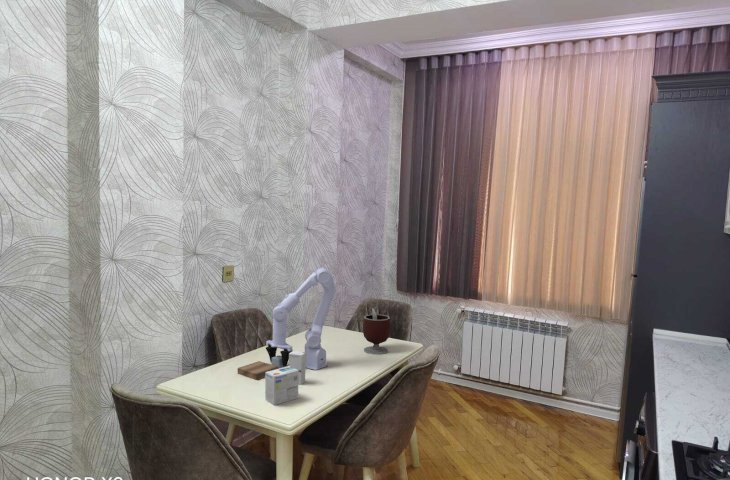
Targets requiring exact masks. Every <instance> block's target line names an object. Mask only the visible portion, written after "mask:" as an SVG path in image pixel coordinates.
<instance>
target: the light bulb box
mask: <svg viewBox="0 0 730 480" xmlns="http://www.w3.org/2000/svg"><path fill="white" fill-rule="evenodd" d="M264 379H265V392H264V393H265V400H264V401H267V403H270V404H271V405H273V406H276V405H279V404H283V403H285V402H290V401H293V400H296V399H298V398H299V384H298V370H297V369H295V368H292V367H290V366H289V365H287V366H286V367H283V368H280V369H276V370H272V371H268V372H265V378H264Z"/></svg>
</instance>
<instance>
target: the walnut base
mask: <svg viewBox="0 0 730 480" xmlns="http://www.w3.org/2000/svg"><path fill="white" fill-rule="evenodd" d="M276 369H278V367H277V366H274V365H272V363H267V362H263V361H259V360H258V361H256V362H253V363H252V362H251V363H249V364H246V365H242V366H240V367H237V375H240V376H243V377H246V378H249V379H252V380H255V381H259V380H261V379H265V372H268V371H272V370H276Z"/></svg>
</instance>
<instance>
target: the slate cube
mask: <svg viewBox="0 0 730 480" xmlns="http://www.w3.org/2000/svg"><path fill="white" fill-rule="evenodd" d="M271 365H274V366H277V367H278V369H280V368H283V367H287V366H283V365H282V356H281V354H280V355H276V356H275V357H272V363H271Z"/></svg>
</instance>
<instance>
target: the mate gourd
mask: <svg viewBox="0 0 730 480" xmlns="http://www.w3.org/2000/svg"><path fill="white" fill-rule="evenodd" d="M371 310H372V312H371V313H372V314H367V315H364V317H363V320H362V332H363V333H362V335H363V337H364V338H365V340H366V341H367V342H368V343H370V344H372V345H371V346H367V347H364V349H363V352H364V353H366V354H369V355H376V356H377V355H378V356H379V355H385V354H386V355H387V354H388V353H389V348H387V347H384V346H380V344H383V343H385V342H387V340H388V339H389V338H390V336H391V335H390V334H391V318H390V316H388V315H385V314H378V313H377V312H376V310H375V309H374V307H372V308H371Z"/></svg>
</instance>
